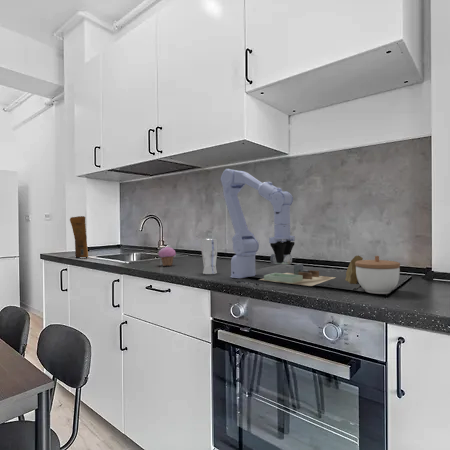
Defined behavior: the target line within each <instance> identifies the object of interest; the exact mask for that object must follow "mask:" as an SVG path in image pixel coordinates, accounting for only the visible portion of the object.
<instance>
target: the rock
mask: <svg viewBox="0 0 450 450" xmlns="http://www.w3.org/2000/svg"><path fill="white" fill-rule="evenodd" d="M360 260H364V258H363V257H362V256H361V255H359V254H358V255H355V256H354V257H353V258H352V259H351V260H350V262H349V265H348V267H347V269H346V272H345V281H346V282H348V283H349V284H351V285H357V284H358V283H359V282H358V280H357V276H356V266H355V262H356V261H360Z"/></svg>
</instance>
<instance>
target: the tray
mask: <svg viewBox="0 0 450 450" xmlns="http://www.w3.org/2000/svg"><path fill="white" fill-rule="evenodd" d="M263 278H264V280H270V281H269V282H273V281H279V282H278V283H281V282H288V283H287V284H290V283H294V282H297V281H301V280H303V275H293V274H283V273H282V272H272V273H269V274H264V275H263ZM264 280H263V281H264Z"/></svg>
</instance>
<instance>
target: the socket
mask: <svg viewBox="0 0 450 450" xmlns="http://www.w3.org/2000/svg"><path fill="white" fill-rule="evenodd" d="M309 270H310V269H309ZM298 275H303V279H312V277H319V276H320V270H310V273H307V272H298Z"/></svg>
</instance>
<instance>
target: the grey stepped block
mask: <svg viewBox="0 0 450 450" xmlns="http://www.w3.org/2000/svg"><path fill="white" fill-rule="evenodd" d="M298 272H307V273H310V269H304V264H303V263H296V264H293V273H294V275H298Z"/></svg>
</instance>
